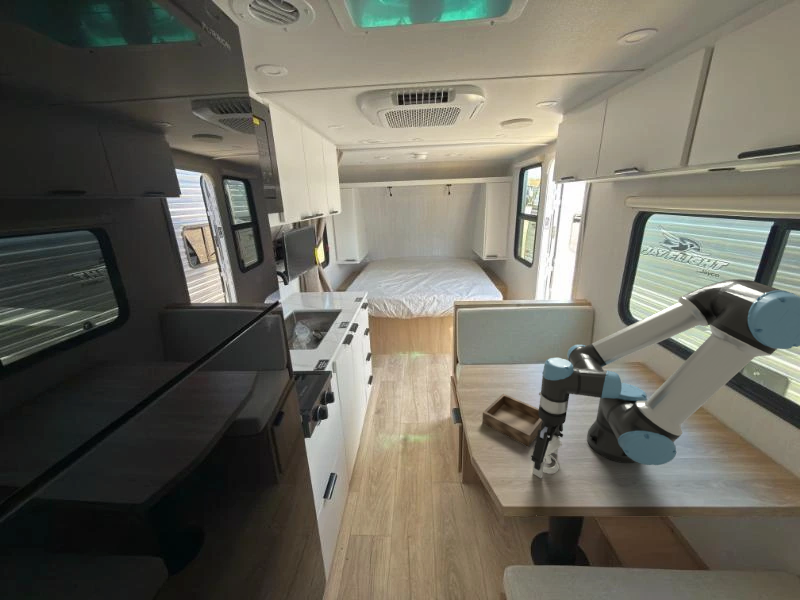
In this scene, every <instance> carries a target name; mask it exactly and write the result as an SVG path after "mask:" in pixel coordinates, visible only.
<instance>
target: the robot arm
mask: <svg viewBox="0 0 800 600" xmlns="http://www.w3.org/2000/svg"><path fill="white" fill-rule="evenodd" d="M697 326H700V327H701V326H702V327H708V326H709V327H710V332H711V334H710V335H709V336H708V337H707V338H706V339H705V340H704V342H703V343H701V345H700V346H699V347H697V349H696V350H695V351H694V352H693V353H692V354H691V355H690V356H689V357H688V358H687V359H686V360H685V361H684V362H683V363H682V364H681V365H680V366H679V367H678V368H677V369H676V370H675V371H674V372H673V373H672V374H671V375H670V376H669V377H668V378H667V379H666V380H665V381H664V382H663V383H662V384H661V385H660V387H658V388H657V389H656V390H655V392H654V393H653V394H651V396H650V397H648V396H647V393H646V392H645V391H644V390H643V389H641V388H639V387H638V386H636V385H632V384H629V383H626V382H625V383H624V382H622V379H621V377H620V375H619V374H618V372H615V371H612V370H608V369H607V370H604V369H603V367H605V366H607V365H610V364H612V363H615V362H616V361H619V360H621V359H623V358H625V357H628V356H630V355H632V354H636V353H638V352H639V351H642V350H645V349H647V348H649V347H651V346H653V345H655V344H659V343H661V342H663V341H665V340H667V339H670V338H672V337H674V336H677V335H679V334H681V333H683V332H686V331H688V330H691V329H693V328H695V327H697ZM793 347H795V348H798V347H800V296H799V295H796V294H795V293H793V292H790V291H786V290H782V289H779V288H775V287H773V286H769V285H766V284H762V283H760V282H757V281H754V280H750V279H745V278H744V279H740V278H739V279H738V278H737V279H727V280H721V281H717V282H715V283H711V284H709V285H705V286H703V287H699V288H697V289H695V290H692V291H690V292H687V293H686V294H685V295H682V296H680V297H679V298H678V302H676V303H674V304H672V305H670V306H668V307H665V308H664V309H661V310H659V311H658V312H656V313H653V314H651V315H650V316H647V317H644V318H642V319H640V320H638V321H636V322H634V323H632V324H630V325H628V326H626V327H624V328H622V329H619V330H618V331H615V332H614V333H611V334H610V335H609V334H608V335H607V336H605V337H603V338H600V339H598V340H596V341H594V342H593V343H590V344H587V345H585V344H574V345H572V346H571V347H569V348H568V350H567V355H566V356H567V359H566V358H562V357H556V356H555V357H550V358H547V359H546V360H545V361H544V363H543V364H544V366H543V370H542V379H541V387H540V392H539V393H538V395H539V396H540V397H539V404H538V405H539V406H538V409H539V411H538V415H539V417H540V419H541V420H542V421H543V422H542V425H541V430H540V429H539V430H538V435H537V437H536V440H535V444H534V446H533V447H534V448H533V451H532V455H530V457H531V458H530V460H531V461H532V463H533V462H534V464H533V466H532V474H533V475H535V477H536V476H537V478H540V479H542V478H543V474H544V472H543V468H544V466H545V461H544V460H543V459H544V456H545V453H546V450H547V447H548V445H549V444H551V443H552V442H553V441H555V440H556V439H559V440H560V438H563V436H564V434H563V433H562V432H563V431H564V424H565V422H566V420H567V419H566V417H567V411H568V406H569V399H570V395H576V396H577V395H578V396H584V397H592V398H593V397H594V398H599V401H598V402H599V403H598V408H597V415H596V419H595V421H593V423H592V425H591V426H590V427H589V428H588V430H587V434H586V435H587V436H586V440H587V443H588V445H589V446H590V447H591V449H593V450H594V452H596V453H597V454H599V455H600V456H602V457H604V458H606V459H608V460H611V461H613V462H618V463H625V464H633V463H634V462H636V463H638V464H641V465H646V466H660V465H665V464H667V463H670V462H671V461H672V460H674V459H675V457H676V456H677V455H676V454H677V450H676V449H677V447H676V446H677V445H676V444H675V441H676V440H678V439H679V438H680V437H681V436H682V434H683V430H682V427H681V426H682V425H683V424H684V423H685V422H686V421H687V420H688V419H689V418H690V417H692V415H693V414H695V412H697V411H698V410H699V409H700V408H701V407H702V406H703V405H704V404H706V402H708V401H709V400H710V399H711V398H712V397H713V396H714V395H715V394H716V393H718V392H719V391H720V390H721V389H722V388H723V387H724V386H726V384H727V383H729V381H731V380H732V379H733V378H734V377H735V376H736V375H737V374H738V373H739V372H740V371H741V370H742V369H744V368H745V367H746V366H747V365H748V364H749V363H750V362H751V361H752V360H753V359H754V358H756V357H765V356H767V357H768V356H771V355H772V354H774V352H775V351H777V350H788V349H789V350H790V349H792V348H793ZM558 453H559V448H558V449H557V450H555V451H554V452H553V453H552V454H555V455H558Z"/></svg>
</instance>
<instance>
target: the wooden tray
mask: <svg viewBox="0 0 800 600" xmlns="http://www.w3.org/2000/svg"><path fill="white" fill-rule="evenodd" d="M538 411H539V407H536V406H533V405H531V404H529V403H526V402H524V401H521V400H519V399H516V398H515V397H512V396H510V395H507V394H505V393H502V394H501V395H500V396H499V397H498V398H497V399H495V401H493V402H492V403H491V404H490V405H489V406H488V407H487V408H486V409H485V410H483V412H482V424H483V425H485V426H487V427H489V428H491V429H493V430H495V431H497V432H499V433H500V434H501V435H502V434H503V435H504V436H506V437H508V438H510V439H512V440H514V441H516V442H518V443H519V444H522V445H523V446H525V447H527V448H529V447H530V446H531V445H532V443H533V442H534V441H535V439H537V435H538V430H539V429H540V430H541V425H542V422H543V421H542V420H541V419H540V417H539V415H538Z"/></svg>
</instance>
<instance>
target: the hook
mask: <svg viewBox="0 0 800 600" xmlns="http://www.w3.org/2000/svg"><path fill="white" fill-rule="evenodd" d="M562 446H563V442H562V441H561V440H560V439H556V440H555V441H553V442H552V443H551V444H548V447H547V450H546V453H545V456H544V459H543V460H544V464H548V465H549V464H550V465H551V463H552V460H553V462H555V463H554V466H552V467H549V466H545V465H544V468H543V474H548V475H550V474H556V473H557V472H558V471H559V468H560V467H559V463H558V461H557V459H556V458H555V457H554V456H553V455H552V454H554V453H553V452H554V451H555V450H557V449H558V450H559V449H560V448H561V447H562ZM532 464H533V465H534V462H533V461H532Z"/></svg>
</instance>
